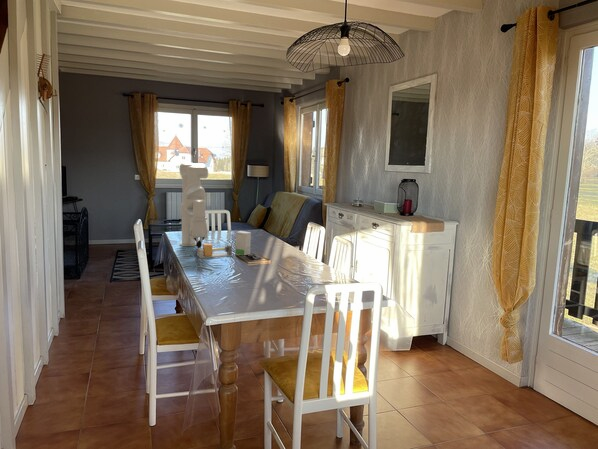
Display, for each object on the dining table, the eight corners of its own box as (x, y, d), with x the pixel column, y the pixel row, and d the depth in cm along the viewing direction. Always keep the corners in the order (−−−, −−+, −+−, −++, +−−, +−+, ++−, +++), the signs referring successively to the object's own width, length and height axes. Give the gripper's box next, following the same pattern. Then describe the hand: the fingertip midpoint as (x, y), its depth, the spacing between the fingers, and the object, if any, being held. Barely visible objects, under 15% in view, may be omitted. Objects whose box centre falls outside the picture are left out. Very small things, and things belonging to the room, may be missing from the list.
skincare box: (234, 255, 296) (235, 231, 294) (240, 253, 302) (240, 230, 300) (245, 256, 293) (245, 233, 290) (250, 254, 298) (251, 231, 296)
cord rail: (197, 255, 292) (197, 245, 292) (228, 253, 302) (229, 243, 301) (200, 258, 283) (200, 248, 283) (233, 256, 293) (233, 246, 292)
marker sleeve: (202, 254, 292) (202, 243, 291) (210, 253, 294) (210, 243, 293) (204, 255, 287) (204, 245, 286) (212, 255, 289) (212, 244, 288)
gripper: (209, 218, 291) (209, 246, 294) (186, 218, 285) (186, 247, 288) (212, 219, 284) (211, 248, 287) (188, 220, 278) (188, 249, 281)
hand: (198, 247), depth 287 cm, fingers closed
